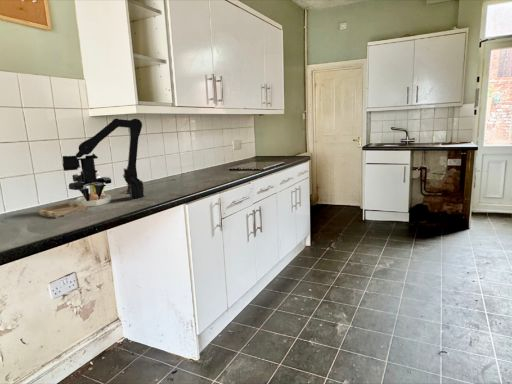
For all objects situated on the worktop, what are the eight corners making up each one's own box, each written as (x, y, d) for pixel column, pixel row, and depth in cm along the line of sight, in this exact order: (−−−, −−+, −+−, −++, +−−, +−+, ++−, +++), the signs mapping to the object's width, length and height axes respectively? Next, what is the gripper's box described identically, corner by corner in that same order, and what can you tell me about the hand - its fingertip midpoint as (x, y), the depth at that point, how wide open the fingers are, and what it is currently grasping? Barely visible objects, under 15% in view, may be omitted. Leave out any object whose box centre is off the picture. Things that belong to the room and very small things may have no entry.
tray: (87, 210, 157) (86, 205, 156) (55, 218, 145) (54, 213, 145) (69, 207, 164) (69, 202, 164) (38, 214, 153) (37, 209, 153)
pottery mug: (122, 194, 193) (124, 180, 195) (137, 198, 199) (139, 184, 202) (133, 190, 185) (136, 175, 188) (149, 195, 192) (151, 180, 194)
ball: (101, 202, 170) (99, 191, 169) (91, 204, 166) (90, 194, 165) (95, 201, 172) (93, 191, 171) (85, 203, 168) (84, 193, 167)
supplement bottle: (107, 195, 188) (103, 171, 185) (96, 198, 183) (92, 173, 180) (99, 194, 191) (95, 171, 189) (88, 197, 186) (84, 173, 183)
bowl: (116, 201, 171) (116, 195, 171) (88, 209, 159) (87, 202, 158) (98, 199, 179) (97, 193, 179) (69, 206, 167) (68, 199, 166)
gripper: (96, 165, 178) (100, 195, 181) (59, 171, 162) (65, 203, 165) (109, 166, 172) (114, 197, 175) (73, 172, 156) (78, 205, 160)
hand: (93, 200), depth 169 cm, fingers closed on ball, 5 cm apart
